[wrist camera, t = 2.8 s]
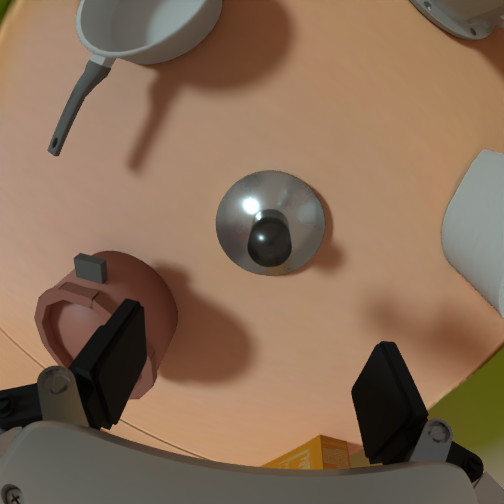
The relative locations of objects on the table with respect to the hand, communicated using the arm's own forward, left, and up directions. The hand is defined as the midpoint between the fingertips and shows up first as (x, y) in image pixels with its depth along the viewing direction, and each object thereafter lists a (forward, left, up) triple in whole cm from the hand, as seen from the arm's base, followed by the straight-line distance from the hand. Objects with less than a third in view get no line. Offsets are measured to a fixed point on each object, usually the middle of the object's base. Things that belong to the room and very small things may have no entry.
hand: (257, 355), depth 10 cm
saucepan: (+14, -14, -16) cm, 25 cm away
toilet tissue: (-21, -5, -15) cm, 27 cm away
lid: (0, 0, -15) cm, 15 cm away
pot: (+14, +12, -15) cm, 24 cm away
